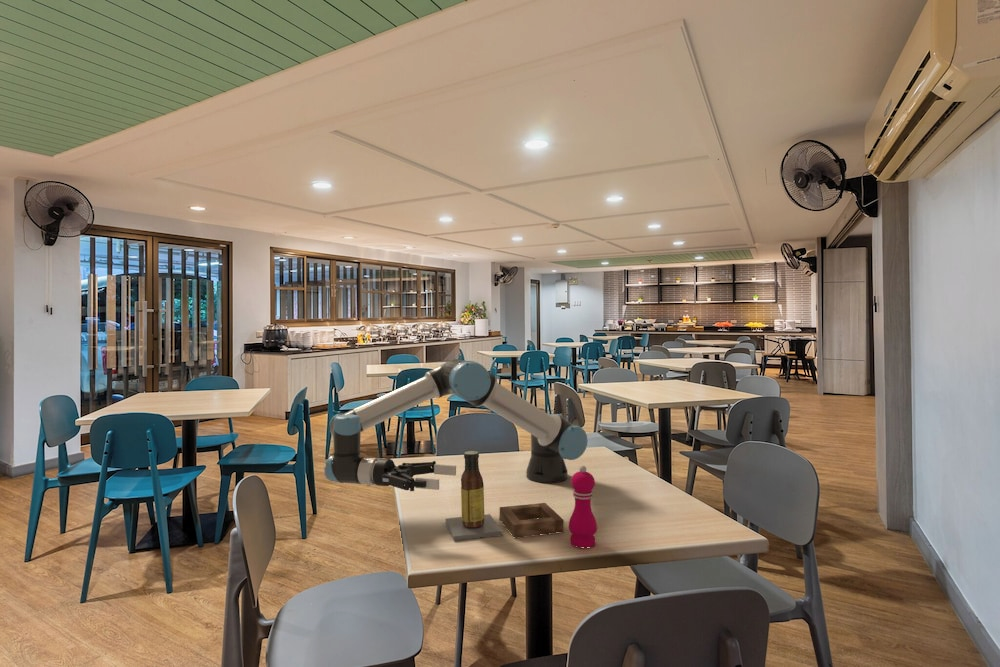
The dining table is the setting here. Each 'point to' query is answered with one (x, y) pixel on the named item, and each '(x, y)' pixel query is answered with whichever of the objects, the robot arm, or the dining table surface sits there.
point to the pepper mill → (582, 510)
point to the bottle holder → (525, 527)
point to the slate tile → (463, 532)
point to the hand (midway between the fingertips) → (447, 477)
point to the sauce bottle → (472, 492)
